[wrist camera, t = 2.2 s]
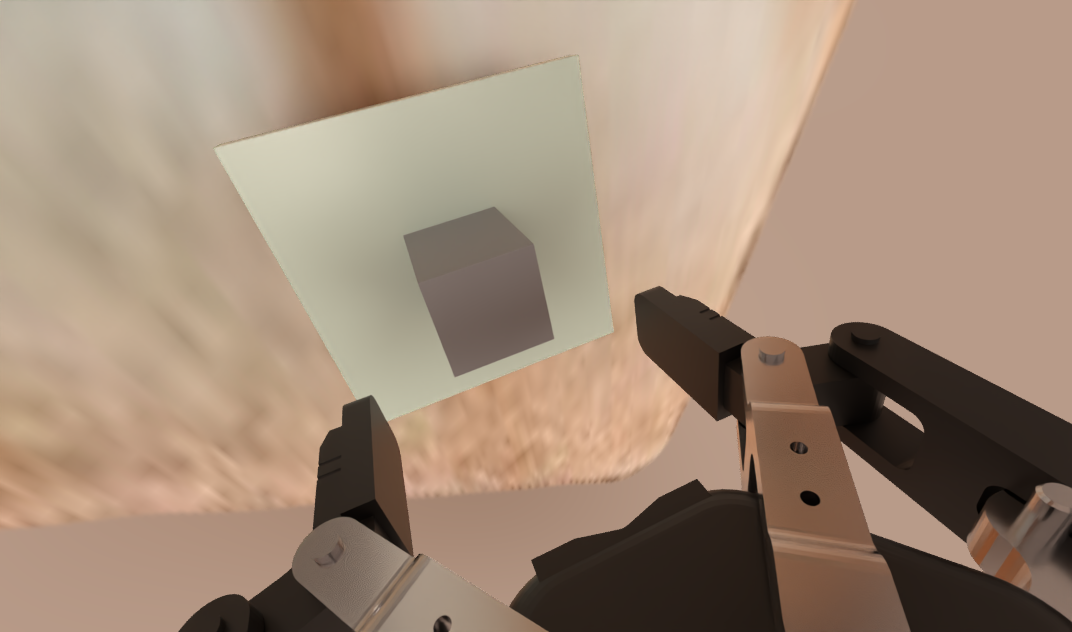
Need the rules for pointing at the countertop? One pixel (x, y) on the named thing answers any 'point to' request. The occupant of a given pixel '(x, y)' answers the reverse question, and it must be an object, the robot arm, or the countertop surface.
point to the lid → (438, 231)
